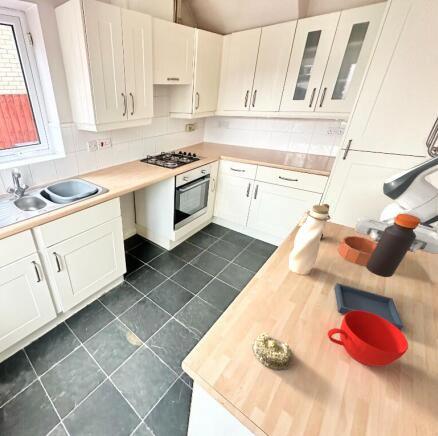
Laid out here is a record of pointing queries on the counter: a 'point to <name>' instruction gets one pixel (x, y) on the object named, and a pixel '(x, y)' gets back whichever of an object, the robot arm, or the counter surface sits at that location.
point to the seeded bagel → (272, 352)
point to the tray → (367, 304)
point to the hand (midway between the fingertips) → (394, 244)
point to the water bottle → (308, 239)
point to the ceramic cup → (370, 338)
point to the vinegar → (393, 245)
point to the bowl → (353, 254)
